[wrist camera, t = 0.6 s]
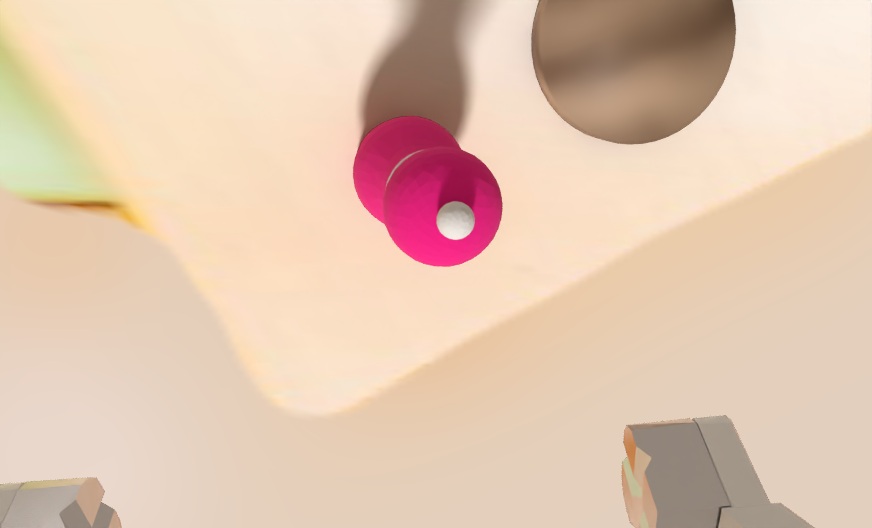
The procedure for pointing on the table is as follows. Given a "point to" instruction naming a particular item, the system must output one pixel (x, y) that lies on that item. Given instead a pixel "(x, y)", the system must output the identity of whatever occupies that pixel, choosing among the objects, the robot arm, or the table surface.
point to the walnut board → (632, 63)
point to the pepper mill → (427, 191)
